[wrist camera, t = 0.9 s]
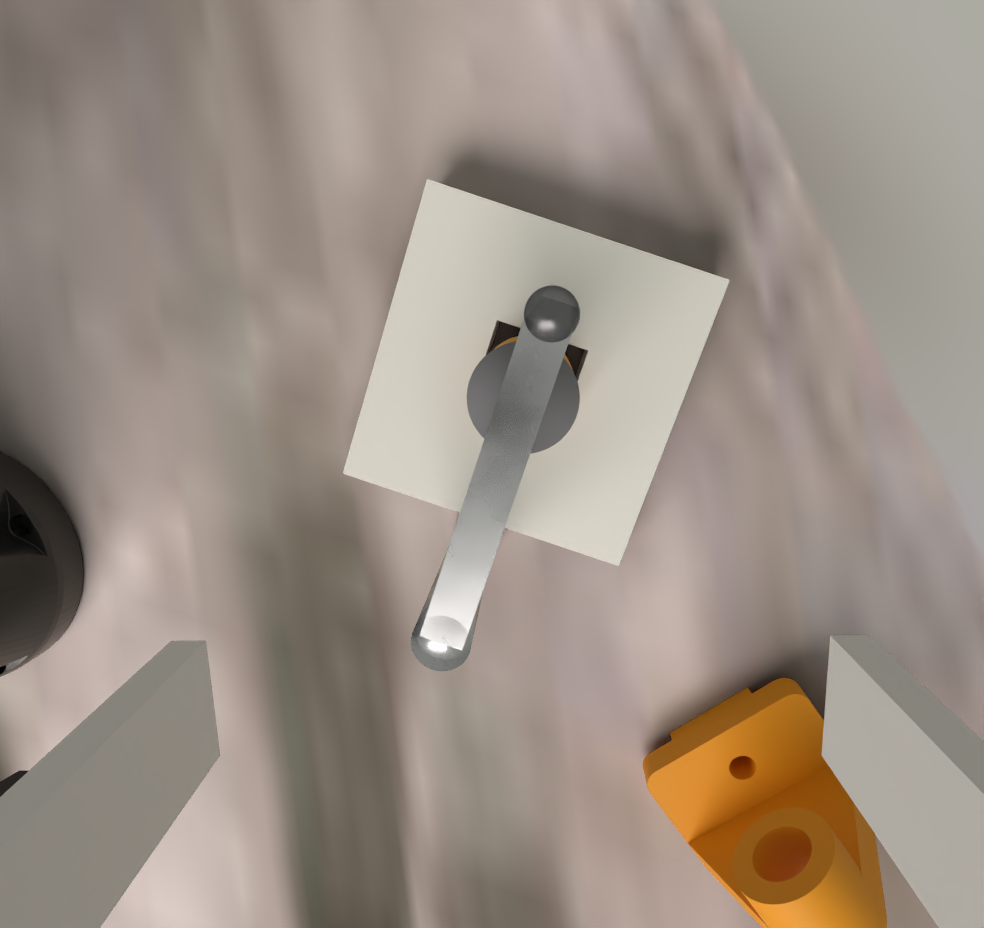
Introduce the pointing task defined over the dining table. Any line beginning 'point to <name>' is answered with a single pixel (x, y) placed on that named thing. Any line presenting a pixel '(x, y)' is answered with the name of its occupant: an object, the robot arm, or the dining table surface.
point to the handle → (495, 480)
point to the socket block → (502, 297)
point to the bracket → (770, 811)
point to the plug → (489, 384)
